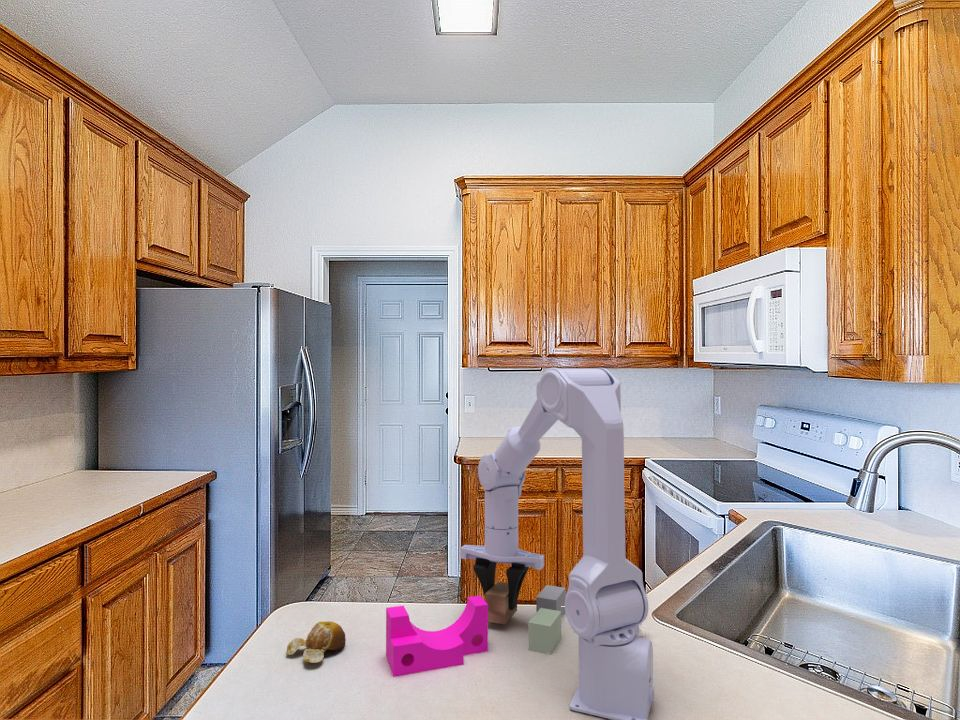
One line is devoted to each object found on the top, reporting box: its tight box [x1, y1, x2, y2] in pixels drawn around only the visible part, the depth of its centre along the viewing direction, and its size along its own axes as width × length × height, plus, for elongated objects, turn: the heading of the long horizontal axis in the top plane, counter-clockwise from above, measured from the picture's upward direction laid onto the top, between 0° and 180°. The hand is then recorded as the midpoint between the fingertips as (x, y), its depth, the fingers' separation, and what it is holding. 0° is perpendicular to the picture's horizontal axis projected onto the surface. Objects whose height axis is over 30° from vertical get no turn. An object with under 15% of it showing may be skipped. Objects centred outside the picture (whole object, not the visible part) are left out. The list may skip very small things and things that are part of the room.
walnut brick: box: [484, 581, 518, 625], centre depth 100 cm, size 4×6×4 cm, turn 156°
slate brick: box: [535, 584, 567, 618], centre depth 102 cm, size 4×6×4 cm, turn 156°
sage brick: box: [528, 608, 562, 655], centre depth 92 cm, size 4×6×4 cm, turn 156°
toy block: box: [385, 595, 489, 678], centre depth 88 cm, size 15×6×8 cm, turn 109°
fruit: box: [285, 620, 347, 664], centre depth 90 cm, size 8×8×4 cm
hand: (501, 605), depth 100 cm, fingers closed on walnut brick, 3 cm apart
